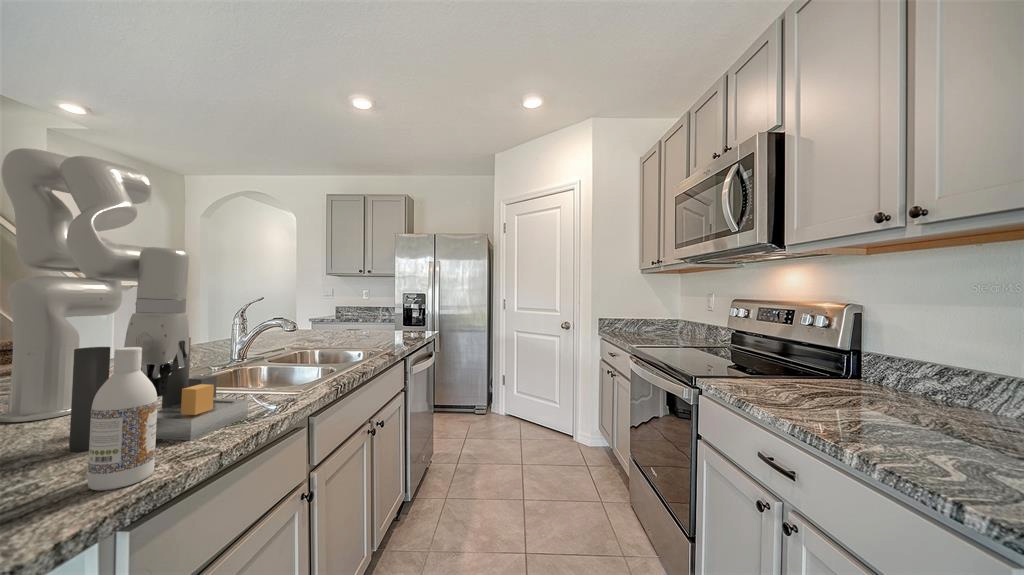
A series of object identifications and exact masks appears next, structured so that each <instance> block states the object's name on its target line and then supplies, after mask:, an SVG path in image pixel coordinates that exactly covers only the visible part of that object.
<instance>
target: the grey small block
mask: <svg viewBox="0 0 1024 575" xmlns="http://www.w3.org/2000/svg"><path fill="white" fill-rule="evenodd" d="M217 378H218V375H215V374H214V375H212V374H210V375H209V374H203V375H200V376H196V377H195V376H194V377H191V378H190V377H189V379H188V387H192V386H196V385H199V384H207V385H214V394H213V398H217Z"/></svg>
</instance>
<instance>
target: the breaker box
mask: <svg viewBox="0 0 1024 575" xmlns="http://www.w3.org/2000/svg"><path fill="white" fill-rule="evenodd" d="M248 413H249V399H243V398H242V399H241V398H240V399H239V398H237V399H236V398H219V397H218V398H217V397H215V398H213V409H211V410H208V411H205V412H202V413H199V414H196V415H185V414H181V403H180V404H176V405H173V406H170V407H166V408H163V409H162V408H160V409H157V422H156V440H171V441H172V440H174V441H193V440H195V439H198V438H200V437H203V436H205V435H208V434H210V433H212V432H215V431H217V430H219V429H220V430H221V429H222V428H225V427H226V426H229V425H231V424H234V423H236V422H239V421H241V420H244V419H246V418H248V416H249V414H248Z"/></svg>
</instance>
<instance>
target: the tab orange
mask: <svg viewBox="0 0 1024 575" xmlns="http://www.w3.org/2000/svg"><path fill="white" fill-rule="evenodd" d="M213 394H214V385H207V384H199V385H196V386H192V387H188V388H184V389H182V401H181V414H185V415H196V414H199V413H202V412H205V411H208V410H211V409H213Z"/></svg>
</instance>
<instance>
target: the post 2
mask: <svg viewBox="0 0 1024 575" xmlns="http://www.w3.org/2000/svg"><path fill="white" fill-rule="evenodd" d="M191 340H192V337H190V336H189V352H188V357H187V359H186V360H184V367H183V368H180V369H175V370H173V371H172V373H171V375H170V376H168V382H167V393H166V395H163V396H161V409H163V408H166V407H170V406H173V405H176V404H180V403H181V401H182V389H184V388H188V379H190V363H191V362H190V361H191V360H190V358H191V343H192V342H191Z"/></svg>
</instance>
